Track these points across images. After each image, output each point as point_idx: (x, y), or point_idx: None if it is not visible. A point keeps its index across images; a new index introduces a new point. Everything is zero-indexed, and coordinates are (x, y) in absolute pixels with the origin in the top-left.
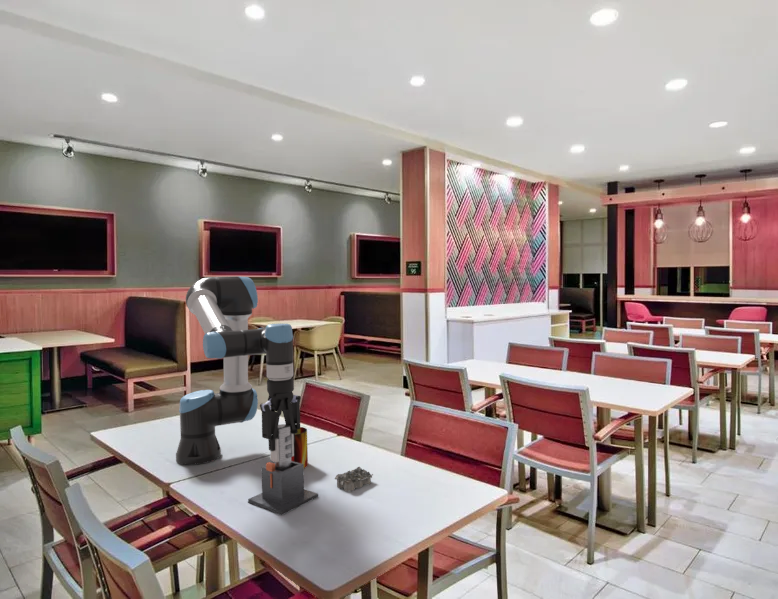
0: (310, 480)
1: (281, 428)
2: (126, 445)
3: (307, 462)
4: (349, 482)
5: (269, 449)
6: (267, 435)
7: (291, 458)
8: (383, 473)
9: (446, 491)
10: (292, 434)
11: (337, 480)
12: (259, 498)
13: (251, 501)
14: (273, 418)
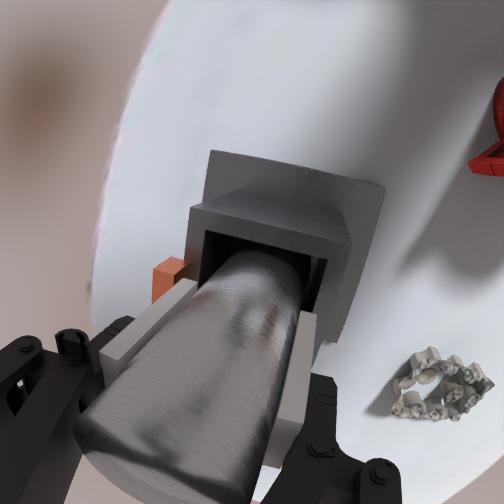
0: (450, 249)
1: (121, 481)
2: None
3: None
4: (400, 403)
5: (121, 321)
6: (22, 392)
7: (497, 166)
8: (499, 400)
9: (408, 495)
10: (268, 464)
11: (421, 364)
12: (229, 183)
13: (209, 167)
14: (4, 498)
